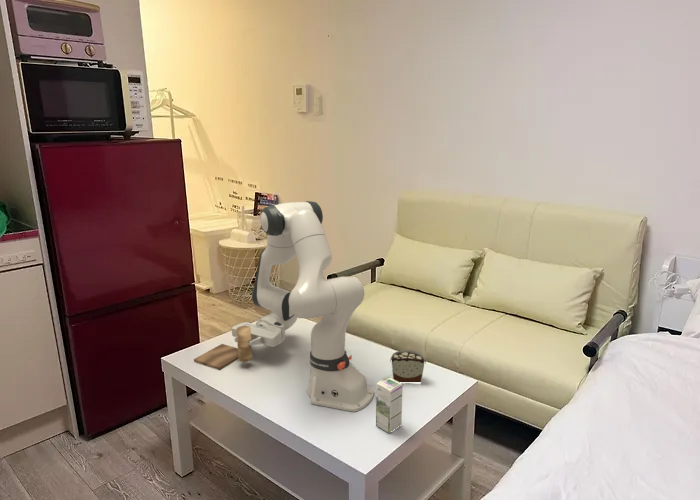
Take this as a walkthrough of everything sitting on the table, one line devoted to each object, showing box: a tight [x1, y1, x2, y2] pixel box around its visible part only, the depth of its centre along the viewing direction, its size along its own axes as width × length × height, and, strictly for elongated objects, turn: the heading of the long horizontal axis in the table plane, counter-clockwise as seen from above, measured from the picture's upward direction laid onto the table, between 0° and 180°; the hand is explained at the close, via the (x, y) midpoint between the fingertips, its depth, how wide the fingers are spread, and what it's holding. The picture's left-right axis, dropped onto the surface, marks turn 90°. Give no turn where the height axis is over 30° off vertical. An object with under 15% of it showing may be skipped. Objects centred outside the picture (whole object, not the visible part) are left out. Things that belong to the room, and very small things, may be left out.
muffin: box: [389, 349, 427, 383], centre depth 176 cm, size 12×6×10 cm, turn 84°
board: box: [193, 343, 239, 371], centre depth 192 cm, size 13×15×1 cm
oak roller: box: [236, 326, 253, 363], centre depth 184 cm, size 5×5×12 cm
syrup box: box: [375, 376, 404, 434], centre depth 149 cm, size 6×6×14 cm
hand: (242, 342), depth 183 cm, fingers closed on oak roller, 5 cm apart
